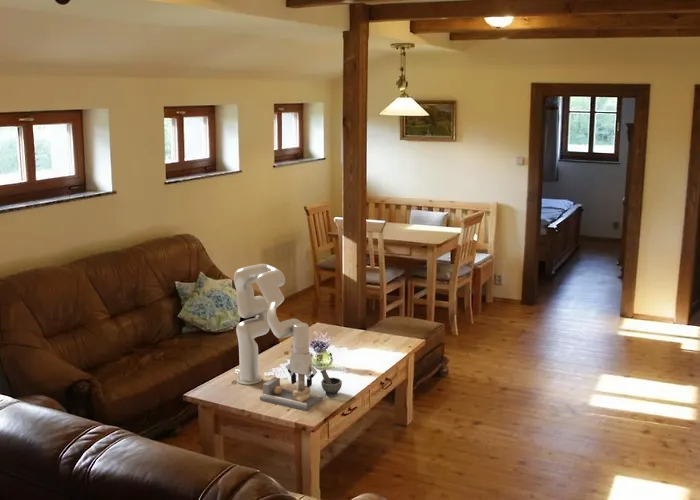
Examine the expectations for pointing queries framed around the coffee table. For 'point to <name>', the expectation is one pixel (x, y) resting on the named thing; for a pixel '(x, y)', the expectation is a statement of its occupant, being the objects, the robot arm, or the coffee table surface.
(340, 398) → the coffee table surface
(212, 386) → the coffee table surface
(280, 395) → the nut press base
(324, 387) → the mortar and pestle
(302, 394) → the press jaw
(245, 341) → the robot arm
